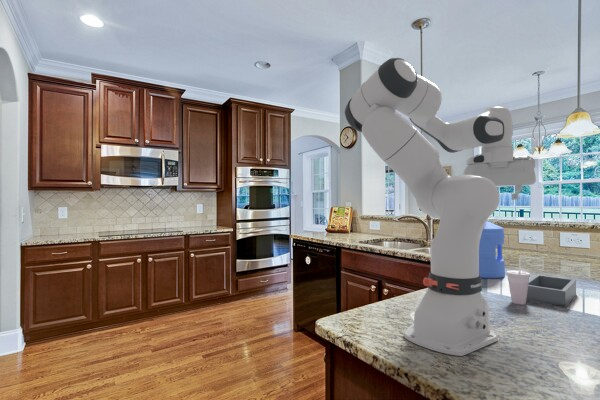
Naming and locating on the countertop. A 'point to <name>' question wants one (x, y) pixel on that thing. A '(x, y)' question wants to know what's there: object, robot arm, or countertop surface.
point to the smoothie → (518, 285)
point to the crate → (551, 290)
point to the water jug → (491, 252)
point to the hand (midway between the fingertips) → (498, 199)
